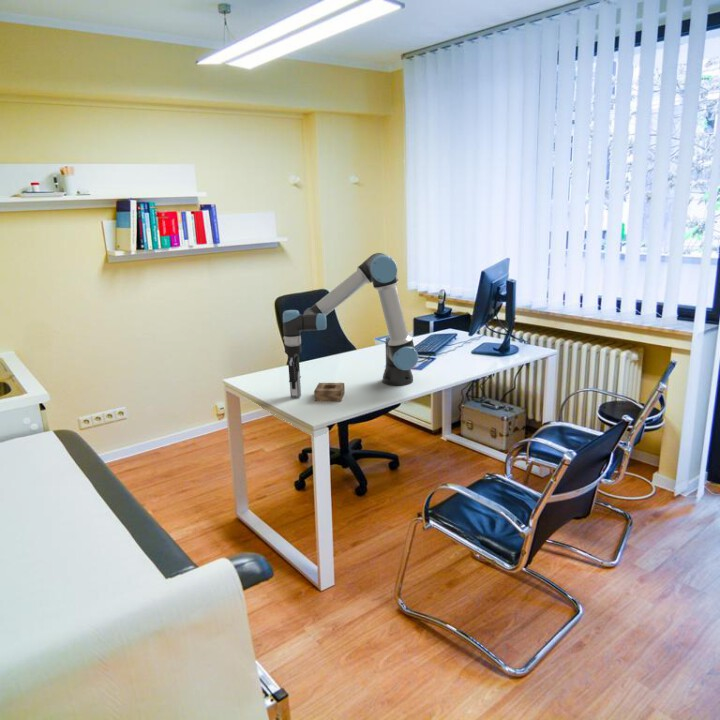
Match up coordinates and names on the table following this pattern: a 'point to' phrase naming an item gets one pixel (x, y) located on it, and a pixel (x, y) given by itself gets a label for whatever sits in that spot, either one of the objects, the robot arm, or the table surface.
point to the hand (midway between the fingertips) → (295, 393)
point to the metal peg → (297, 386)
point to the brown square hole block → (329, 392)
